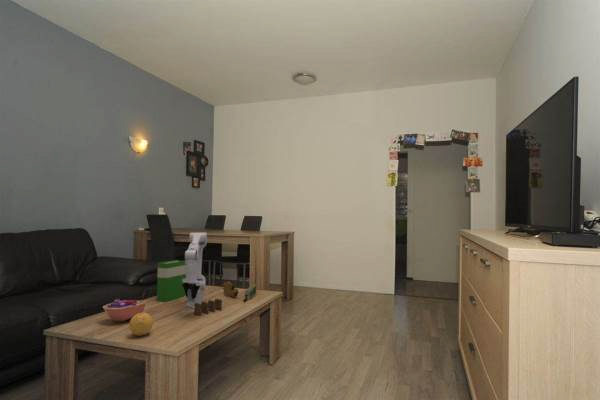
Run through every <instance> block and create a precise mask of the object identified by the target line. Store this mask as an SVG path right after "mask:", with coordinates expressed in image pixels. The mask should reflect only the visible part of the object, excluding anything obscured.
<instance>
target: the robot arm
mask: <svg viewBox="0 0 600 400" xmlns="http://www.w3.org/2000/svg"><path fill="white" fill-rule="evenodd" d="M188 238H189V243H190V244H189V245H188V248H187V250H185V252H184V260H185V264H186V278H185V279H182V282H183V283H184V284H182V286H183V288H184V290H185V297H186V298H187V290H188V289H191V297H192V299H194V302H190V301H187V300H186V304H185V306H186V307H189V308H192V309H194V304H195V303H199V304H202V301H204V291H205V290H206V284H207V282H206V277H205V276H204V275H203V274H202V269H203V268H202V267H203V266H202V263H203V250H204V248H205V247H207V243H208V242H207V241H208V233H207V232H206V231H205V232H192V231H191V232H190V233H189V237H188Z"/></svg>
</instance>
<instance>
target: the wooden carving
mask: <svg viewBox="0 0 600 400" xmlns="http://www.w3.org/2000/svg"><path fill="white" fill-rule="evenodd" d="M222 286H223V287H222V290H223V294H224V295H225V297H228V298H231V297H233V298H237V297H238V294H239V290H238V288H235V284H234V283H232V282H231V281H226V282H223V285H222Z"/></svg>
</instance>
